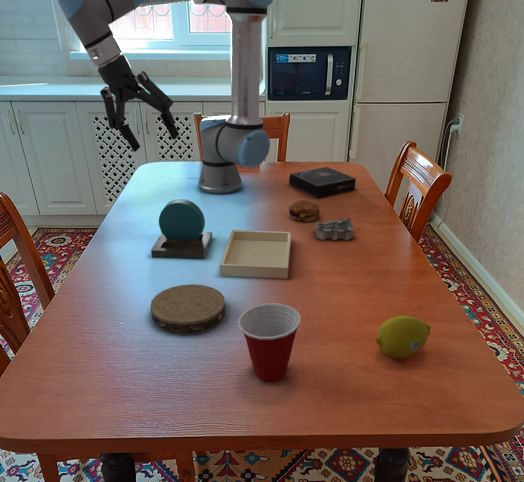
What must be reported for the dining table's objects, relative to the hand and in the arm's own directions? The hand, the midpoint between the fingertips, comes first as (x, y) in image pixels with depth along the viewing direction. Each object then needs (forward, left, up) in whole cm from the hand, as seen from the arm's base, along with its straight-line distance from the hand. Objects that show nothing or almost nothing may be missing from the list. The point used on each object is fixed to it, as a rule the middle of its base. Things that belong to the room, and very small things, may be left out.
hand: (156, 143), depth 130 cm
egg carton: (-11, +48, -24) cm, 55 cm away
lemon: (+40, +73, -24) cm, 86 cm away
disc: (+8, +10, -18) cm, 22 cm away
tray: (+10, +32, -24) cm, 41 cm away
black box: (-51, +34, -24) cm, 66 cm away
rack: (+11, +11, -24) cm, 28 cm away
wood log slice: (+41, +28, -24) cm, 55 cm away
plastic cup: (+54, +51, -24) cm, 78 cm away
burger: (-22, +36, -24) cm, 49 cm away
